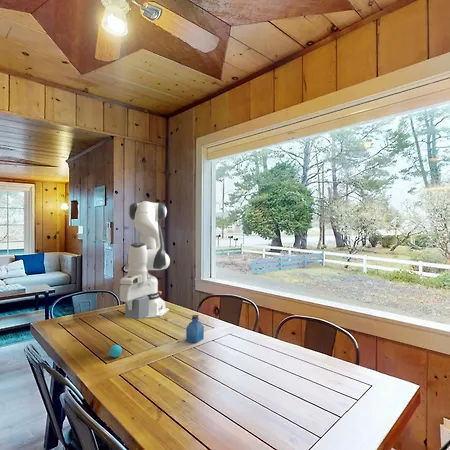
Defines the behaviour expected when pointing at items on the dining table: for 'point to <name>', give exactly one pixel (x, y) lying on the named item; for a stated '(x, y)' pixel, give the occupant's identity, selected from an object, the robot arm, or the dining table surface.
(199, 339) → the perfume bottle
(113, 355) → the ball
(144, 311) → the gray cuboid
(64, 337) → the dining table surface
